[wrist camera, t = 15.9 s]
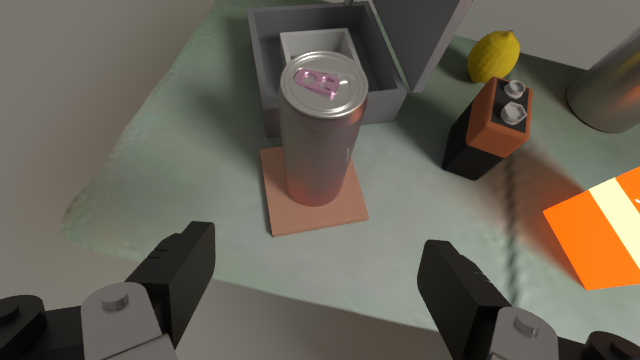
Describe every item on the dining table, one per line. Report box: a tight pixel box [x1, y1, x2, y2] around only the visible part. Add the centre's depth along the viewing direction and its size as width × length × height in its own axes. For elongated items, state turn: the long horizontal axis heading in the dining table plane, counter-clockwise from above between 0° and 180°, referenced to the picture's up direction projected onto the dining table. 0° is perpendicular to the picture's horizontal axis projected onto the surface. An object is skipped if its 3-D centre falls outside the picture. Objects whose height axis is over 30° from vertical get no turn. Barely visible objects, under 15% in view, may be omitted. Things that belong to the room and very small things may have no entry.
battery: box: [442, 77, 533, 181], centre depth 32 cm, size 4×7×10 cm, turn 159°
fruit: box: [467, 30, 520, 83], centre depth 39 cm, size 6×6×8 cm
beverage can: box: [278, 50, 368, 207], centre depth 26 cm, size 6×6×15 cm
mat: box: [260, 146, 369, 237], centre depth 33 cm, size 10×10×1 cm
